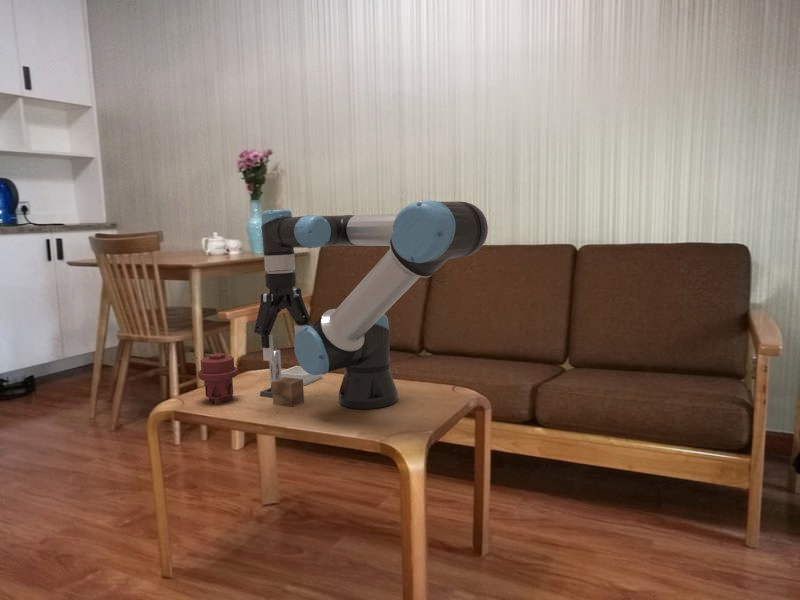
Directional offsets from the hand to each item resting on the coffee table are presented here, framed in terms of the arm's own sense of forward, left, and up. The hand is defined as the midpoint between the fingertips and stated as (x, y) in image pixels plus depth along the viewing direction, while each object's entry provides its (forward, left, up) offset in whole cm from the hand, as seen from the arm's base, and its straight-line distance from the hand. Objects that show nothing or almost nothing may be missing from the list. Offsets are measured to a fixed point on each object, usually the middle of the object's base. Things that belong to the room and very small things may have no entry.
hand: (285, 355), depth 159 cm
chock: (0, 0, -13) cm, 13 cm away
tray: (+10, -20, -13) cm, 26 cm away
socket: (+8, -6, -13) cm, 16 cm away
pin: (+8, -6, -13) cm, 16 cm away
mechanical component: (+18, +5, -13) cm, 23 cm away
